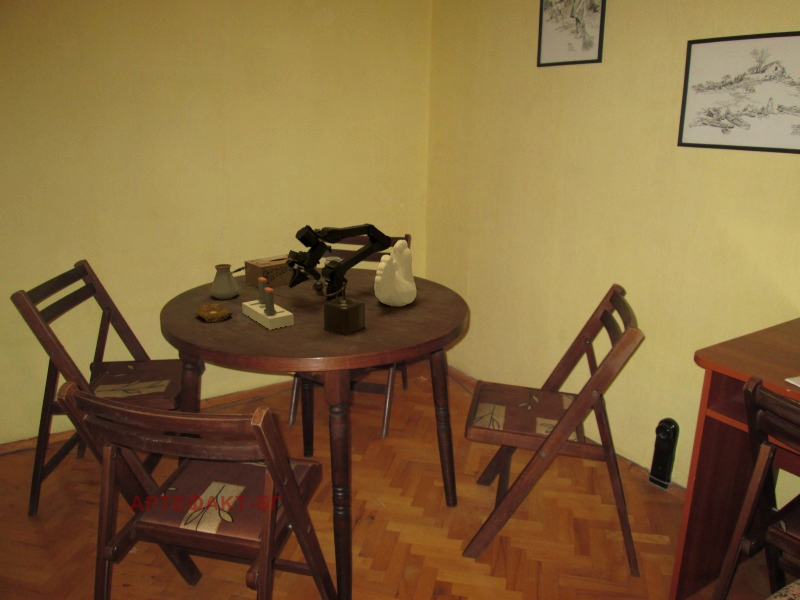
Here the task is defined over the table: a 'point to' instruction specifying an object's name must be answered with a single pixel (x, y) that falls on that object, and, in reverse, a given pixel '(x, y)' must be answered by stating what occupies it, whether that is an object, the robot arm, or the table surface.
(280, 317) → the cream lever base
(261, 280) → the switch
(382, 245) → the robot arm
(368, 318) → the table surface
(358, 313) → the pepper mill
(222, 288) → the coffee pot
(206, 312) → the decorative rock
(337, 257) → the can
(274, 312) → the switch
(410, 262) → the cream foot sculpture
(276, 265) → the tissue box cover
